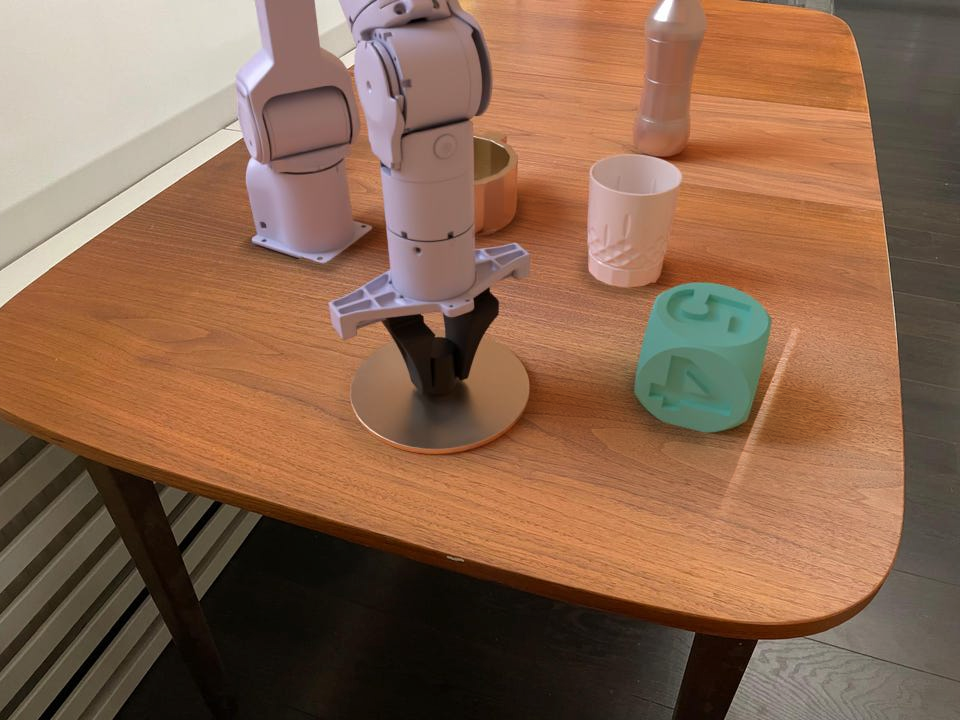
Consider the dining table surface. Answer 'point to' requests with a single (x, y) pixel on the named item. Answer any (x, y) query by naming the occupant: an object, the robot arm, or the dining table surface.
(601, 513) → the dining table surface
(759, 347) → the decorative dice
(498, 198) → the pot
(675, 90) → the plastic bottle
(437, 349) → the lid
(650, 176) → the white cup
